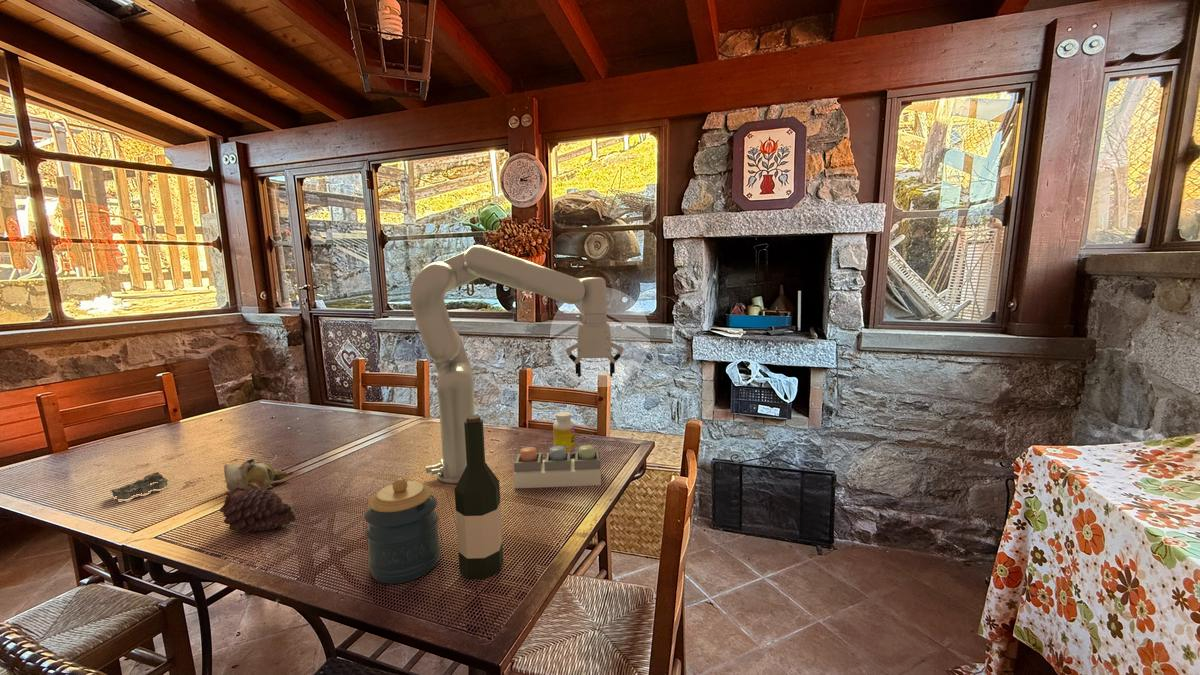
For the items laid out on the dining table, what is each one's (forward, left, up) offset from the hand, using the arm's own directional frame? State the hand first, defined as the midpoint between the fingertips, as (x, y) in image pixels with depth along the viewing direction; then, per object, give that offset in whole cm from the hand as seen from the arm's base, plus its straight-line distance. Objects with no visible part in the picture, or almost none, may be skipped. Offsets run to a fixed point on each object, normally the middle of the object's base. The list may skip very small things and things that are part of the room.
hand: (595, 375), depth 141 cm
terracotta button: (-24, -5, -20) cm, 31 cm away
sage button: (-9, -12, -20) cm, 25 cm away
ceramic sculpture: (-90, +27, -26) cm, 98 cm away
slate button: (-16, -9, -20) cm, 27 cm away
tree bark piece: (-117, +39, -26) cm, 127 cm away
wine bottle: (-44, -38, -26) cm, 64 cm away
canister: (-57, -30, -26) cm, 70 cm away
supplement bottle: (-7, +8, -26) cm, 28 cm away
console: (-16, -9, -26) cm, 32 cm away
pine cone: (-86, +2, -26) cm, 90 cm away
